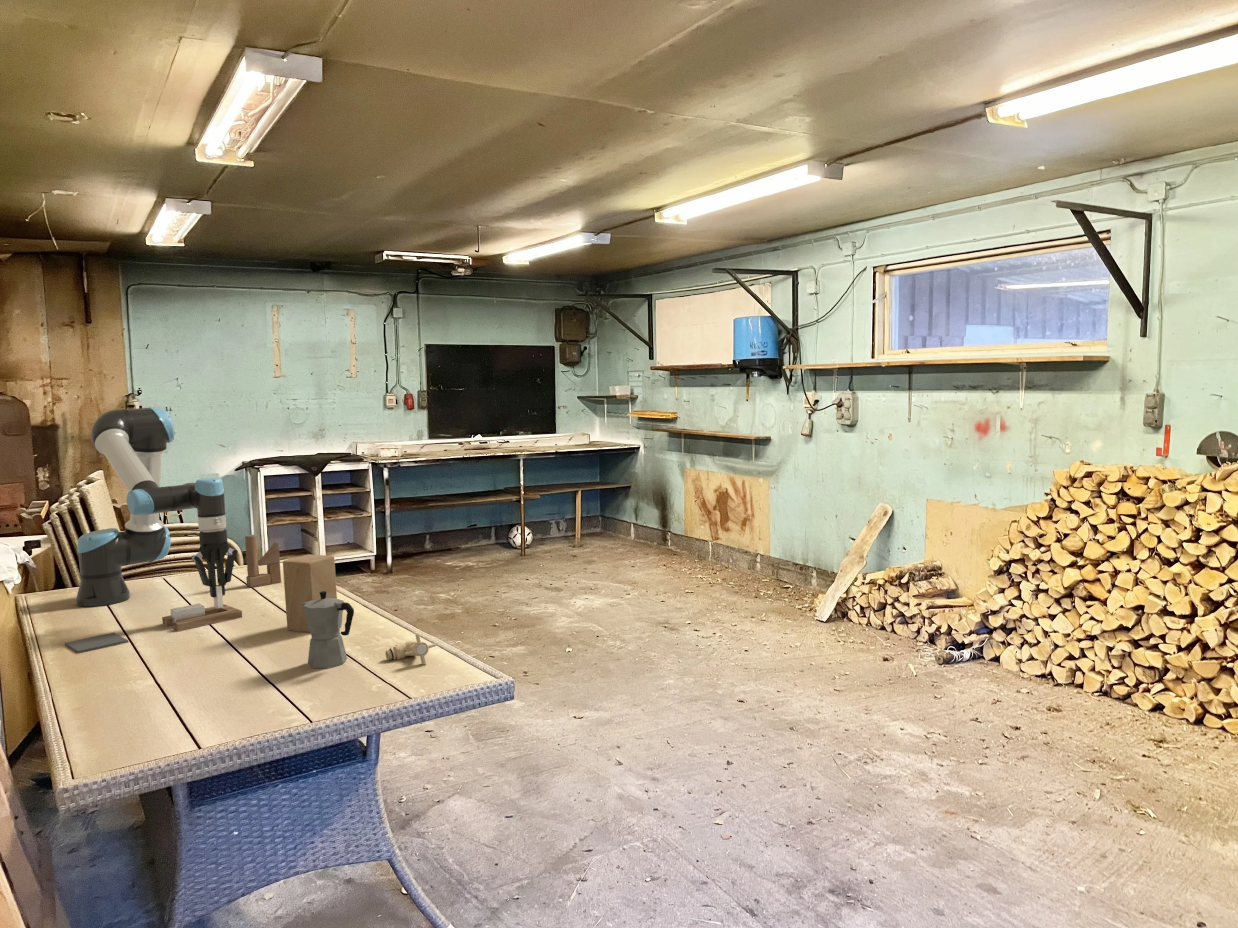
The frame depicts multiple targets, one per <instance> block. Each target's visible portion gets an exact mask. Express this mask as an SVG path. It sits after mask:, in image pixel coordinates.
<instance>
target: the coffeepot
mask: <svg viewBox="0 0 1238 928" xmlns="http://www.w3.org/2000/svg"><path fill="white" fill-rule="evenodd" d="M326 593H327V592H326V591H322V592H320V596H321V599H318V600H312V601H308V602H304V603H302V605H304V606H303V607H304V611H305V616H306V620H307V624H308V629H309V631H310V632H311V633H310V634H311V635H310V636H311V638H310V640H309V648H308V649H309V650H308V656H307V657H308V658H307V666H309V667H310V668H312V669H319V670H320V669H322V670H323V669H330V668H331V669H332V668H334V667H335V668H336V667H339V666H341V665H343V664H345V663H346V661H347V659H348V655H347V653H346V647H345V644H344V639H343V636H349V634H350V631H351V626H352V622H353V620H354V619H353V617H354V614H355V610H354V608H353V606H352V605H351V603H349V602H345V601H344V600H343V599H339V598H337V599H335V598H326ZM344 611H346V615H345V616H346V621H345V624H344V631H341V629H342V626H343V624H342V622H343V613H344Z"/></svg>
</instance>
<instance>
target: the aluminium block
mask: <svg viewBox="0 0 1238 928" xmlns="http://www.w3.org/2000/svg"><path fill="white" fill-rule="evenodd" d="M205 607H206V606H205V605H203V604H201V603H195V604H190V605H185V606H180V607H175V608H171V609H170V615H171V624H172V625H171V626H172V627H174V622H178V621H183V620H187V619H192V618H197V617H201V616H205Z"/></svg>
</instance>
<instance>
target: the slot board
mask: <svg viewBox="0 0 1238 928" xmlns="http://www.w3.org/2000/svg"><path fill="white" fill-rule="evenodd" d="M161 618H162V624H163V625H164V626H167V627H168V626H172V624H171V614H170V615H167V616H163V617H161ZM241 618H243V610H241V609H238V608H235V607H233V606H231V605H227V604H224V603H223V607H222V608H216V607H214V606H209V607H206V608H205V616H201V617H197V618H192V619H187V620H183V621H178V622H174V626H173V627H174V630H176V631H177V632H182V631H187V630H191V629H196V628H200V627H204V626H209V625H212V624H217V623H222V622H227V621H231V620H236V619H241Z"/></svg>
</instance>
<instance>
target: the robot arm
mask: <svg viewBox="0 0 1238 928" xmlns="http://www.w3.org/2000/svg"><path fill="white" fill-rule="evenodd" d="M90 431H91V432H90V439H91V442H92V445H93V447H94V448H95V450H96V451H97V452H98V453H100V454H102V455H104V457H105V458H106V460H107V461H108V462H109V464H110V465H111V468H112V469H113V470H114V471H115V474H116V475H117V476H118V478H119V479H120V481H121V482H122V484H123V485H124V487H125V488H126V490H127V491H128V493H127V495H126V506H127V508H128V509H127V510H128V511H129V514H130V516H129V517H130V518H129V520H127V522H126V523H124V530H123V531H119V529H117V528H115V527H112V528H111V527H109V528H105V529H104V528H103V529H99V530H94V531H91V532H87V533H85V534H82V535H81V536H80V537H79V538H78V540H77V551H76V552H77V555H78V563H79V575H80V583H79V586H78V590H77V594H76V597H75V598H76V599H75V601H76V606H78V607H86V608H87V607H89V608H90V607H99V606H101V607H102V606H108V605H113V604H119V603H121V602H124V601H128V600H129V599H130V597H131V595H130V594H131V593H130V590H129V587H128V585H127V583H126V582H125V579H124V576H123V573H122V572H123V571H122V567H125V566H133V565H139V564H145V563H153V562H155V561H160V560H163V559H164V558H166V556H167V555H168V554H169V551H170V548H171V543H172V542H171V540H172V539H171V533H170V530H169V529H168V527H166V526H165V523H164V522H163V521H162V520H160V514H161V513H166V512H175V511H183V510H192V509H196V510H197V511H196V512H197V522H198V523H197V525H198V530H199V531H200V532H199V533H198V536H199V538H198V539H199V549H198V552H197V553H196V554H195V555H194V554H193V555H191V557H190V558H191V560H192V561H193V562H194V563H195V565H196V569H197V572H198V575H199V577H200V580H201V583H202V585H203V586H206V587H209V595H210V597H211V598H213V607H216V608H222V607H223V604H224V601H223V596H225V595H226V588H225V587H226V585H227V584H228V583H231V581H232V575H233V569H234V565H235V564H234V563H235V558H236V555H237V554H238V550H237V549H234V548H231V547H230V545H229V543H228V532H227V531H228V530H227V529H226V528H227V519H226V517H227V516H226V505H225V504H226V503H225V488H224V482H223V479H222V478H219V477H206V478H205V477H204V478H198V479H197V480H195V482H186V483H183V484H179V485H169V486H161V472H162V471H161V470H162V468H161V467H162V454H163V453H164V452H166V451H167V446H168V445H167V444H170V443H171V442H173V441H174V439H175V434H176V433H175V427H174V423H173V420H172V418H171V416H170V414H169V412H167V410H165V409H164V408H159V407H157V408H156V407H142V408H141V407H139V408H124V409H123V408H121V409H120V408H116V409H112V410H108V411H105V412H104V413H102V414H101V415H100V416H98V417H97V418H96V420H95V422H94V423H93V425H92V427H91V430H90ZM226 555H227V557H226ZM225 557H226V562H225V559H224V558H225ZM203 558H204V559H205V561H206V565H207V571H206V568H205V565H204V562H203V561H202V560H203ZM224 563H225V565H224ZM224 566H225V567H224ZM207 573H208V574H207Z"/></svg>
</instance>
